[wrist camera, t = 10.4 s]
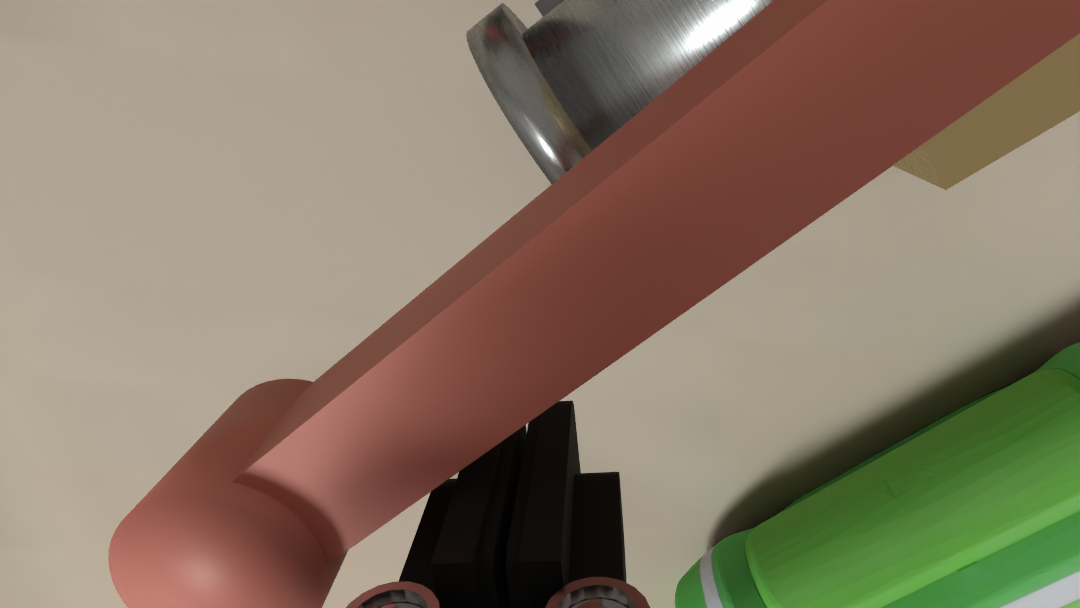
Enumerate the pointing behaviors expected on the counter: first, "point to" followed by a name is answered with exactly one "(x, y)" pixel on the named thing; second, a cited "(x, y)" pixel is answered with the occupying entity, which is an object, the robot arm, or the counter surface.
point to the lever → (569, 287)
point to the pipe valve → (676, 47)
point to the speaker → (928, 517)
